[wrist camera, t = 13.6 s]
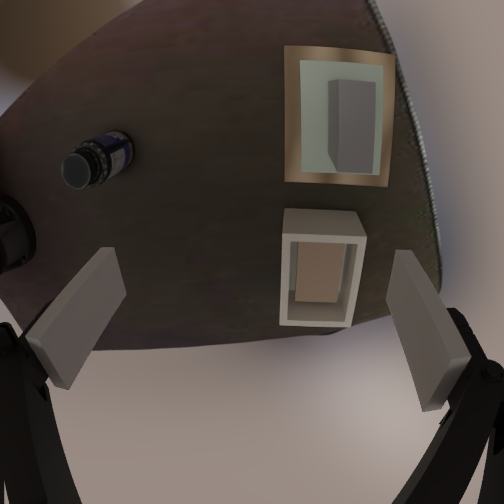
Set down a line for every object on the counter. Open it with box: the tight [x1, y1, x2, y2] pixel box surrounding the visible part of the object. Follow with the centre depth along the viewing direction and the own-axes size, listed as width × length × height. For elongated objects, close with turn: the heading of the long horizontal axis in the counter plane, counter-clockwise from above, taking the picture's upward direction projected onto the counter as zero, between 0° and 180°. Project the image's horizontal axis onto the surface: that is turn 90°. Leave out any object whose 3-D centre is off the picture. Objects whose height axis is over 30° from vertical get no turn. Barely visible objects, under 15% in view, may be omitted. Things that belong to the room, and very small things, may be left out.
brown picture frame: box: [284, 46, 395, 187], centre depth 37 cm, size 14×18×1 cm
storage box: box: [279, 208, 367, 327], centre depth 44 cm, size 10×14×8 cm
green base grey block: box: [300, 60, 383, 175], centre depth 32 cm, size 10×14×11 cm
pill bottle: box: [61, 131, 134, 190], centre depth 38 cm, size 6×6×11 cm
